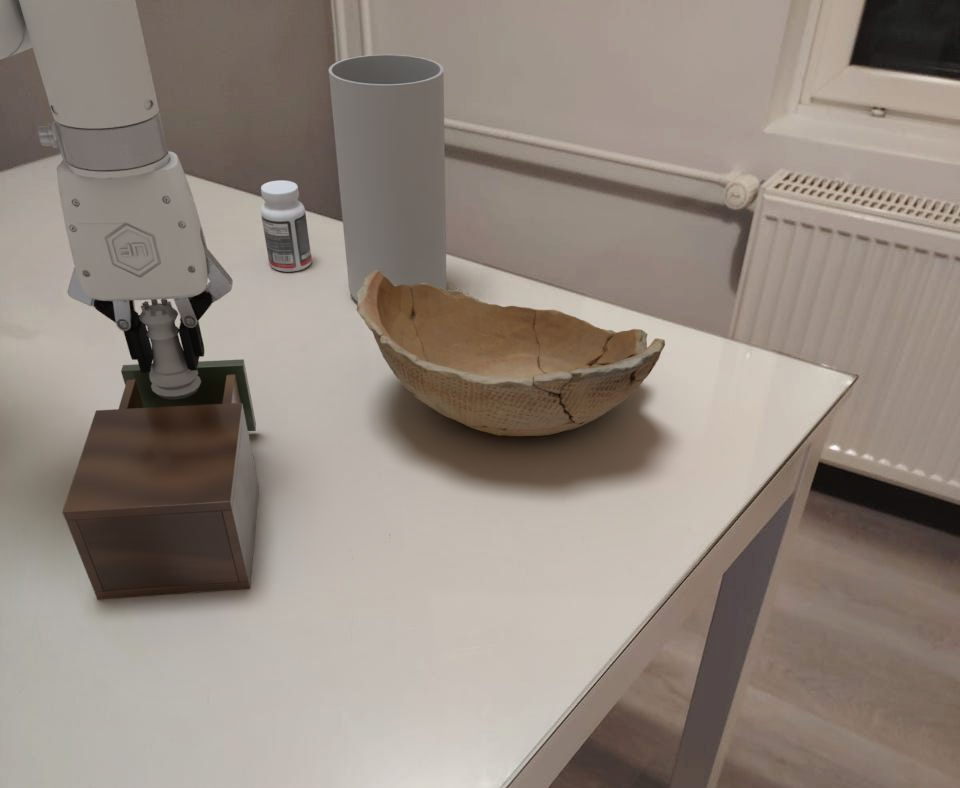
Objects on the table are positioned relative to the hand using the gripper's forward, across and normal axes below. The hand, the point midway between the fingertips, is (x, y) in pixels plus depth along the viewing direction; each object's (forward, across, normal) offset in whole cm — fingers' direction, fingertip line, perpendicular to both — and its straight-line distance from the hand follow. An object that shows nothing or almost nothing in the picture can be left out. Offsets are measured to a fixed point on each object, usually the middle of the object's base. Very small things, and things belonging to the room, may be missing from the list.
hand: (170, 362), depth 81 cm
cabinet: (+11, 0, -12) cm, 16 cm away
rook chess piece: (+3, 0, 0) cm, 3 cm away
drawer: (+10, 0, +1) cm, 10 cm away
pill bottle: (+11, +8, +46) cm, 48 cm away
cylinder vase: (+11, +22, +36) cm, 44 cm away
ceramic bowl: (+11, +32, +7) cm, 35 cm away
